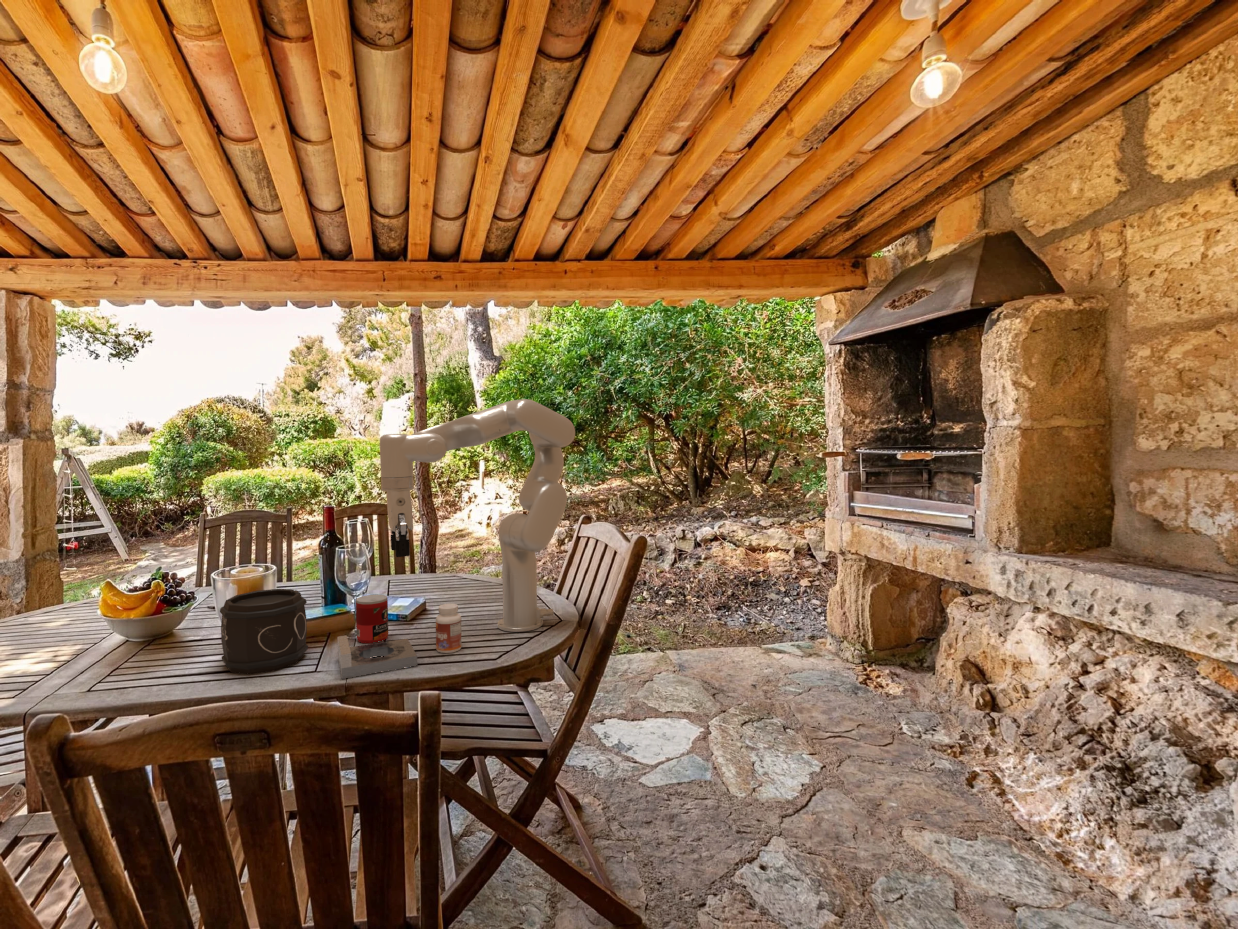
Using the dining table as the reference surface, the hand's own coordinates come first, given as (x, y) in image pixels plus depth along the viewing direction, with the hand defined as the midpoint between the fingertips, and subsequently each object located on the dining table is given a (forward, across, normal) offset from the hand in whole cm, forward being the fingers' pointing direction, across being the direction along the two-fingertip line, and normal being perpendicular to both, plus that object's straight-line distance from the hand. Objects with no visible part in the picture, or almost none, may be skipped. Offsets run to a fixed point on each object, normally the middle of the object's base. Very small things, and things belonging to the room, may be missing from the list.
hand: (400, 553), depth 151 cm
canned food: (+25, +13, +6) cm, 29 cm away
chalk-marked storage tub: (+24, +8, +30) cm, 40 cm away
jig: (+24, -6, +7) cm, 26 cm away
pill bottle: (+25, -4, -10) cm, 27 cm away
